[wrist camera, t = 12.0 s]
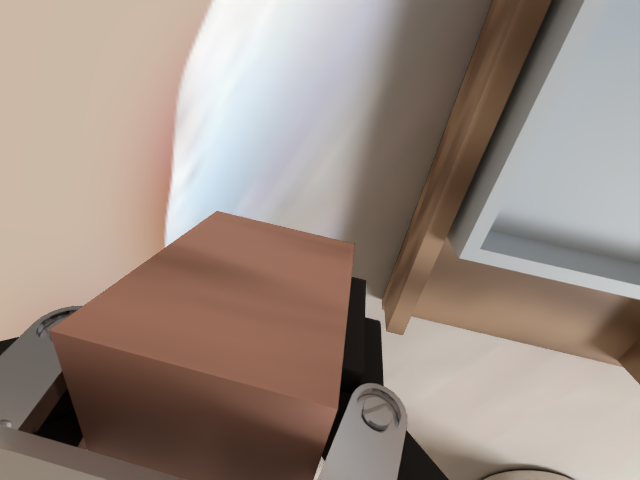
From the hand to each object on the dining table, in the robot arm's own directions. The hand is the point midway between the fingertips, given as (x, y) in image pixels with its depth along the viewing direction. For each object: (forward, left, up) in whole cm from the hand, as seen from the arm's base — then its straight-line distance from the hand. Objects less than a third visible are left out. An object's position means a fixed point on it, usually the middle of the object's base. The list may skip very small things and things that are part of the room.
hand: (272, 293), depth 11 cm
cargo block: (0, 0, -1) cm, 1 cm away
